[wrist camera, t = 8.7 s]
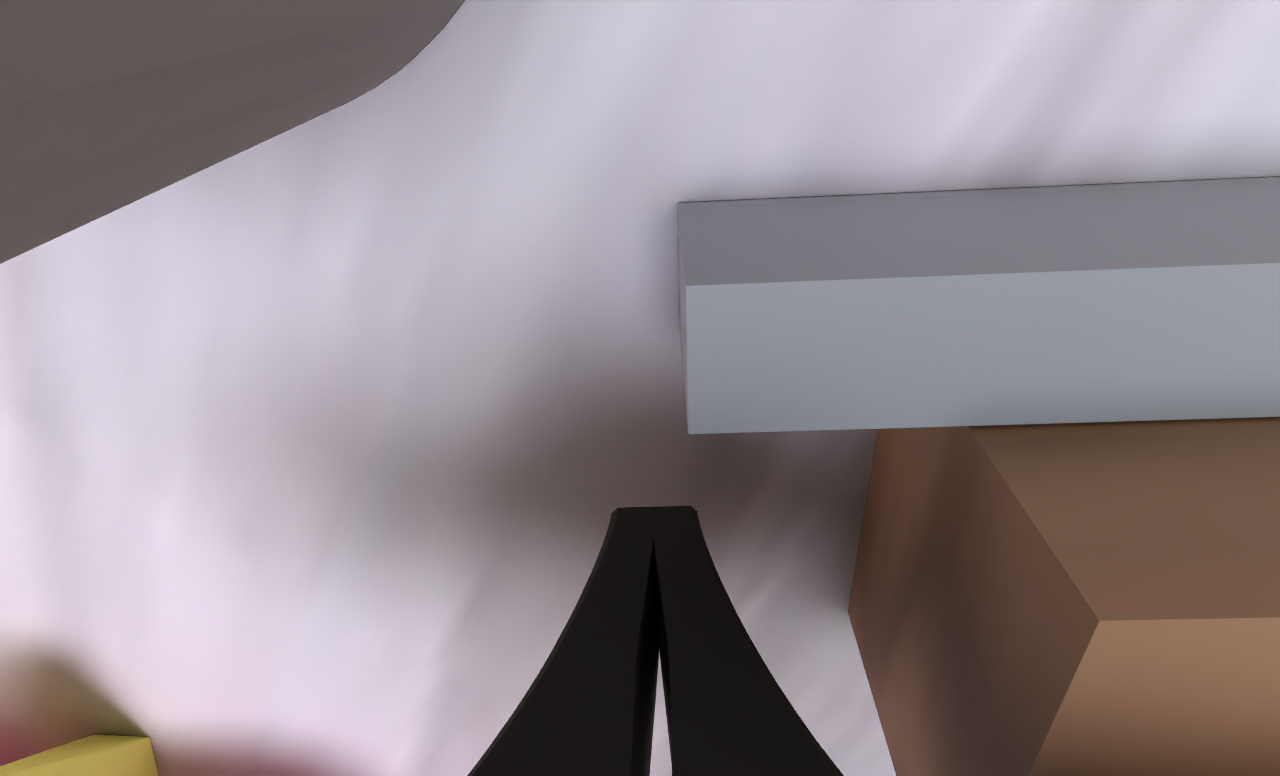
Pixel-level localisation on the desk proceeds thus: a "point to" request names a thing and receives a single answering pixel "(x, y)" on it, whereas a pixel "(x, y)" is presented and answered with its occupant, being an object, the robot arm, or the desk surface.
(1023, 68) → the desk surface
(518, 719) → the robot arm
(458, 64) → the desk surface
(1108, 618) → the cardboard box
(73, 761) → the toy
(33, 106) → the coffee mug
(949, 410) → the grey j-shaped hook
